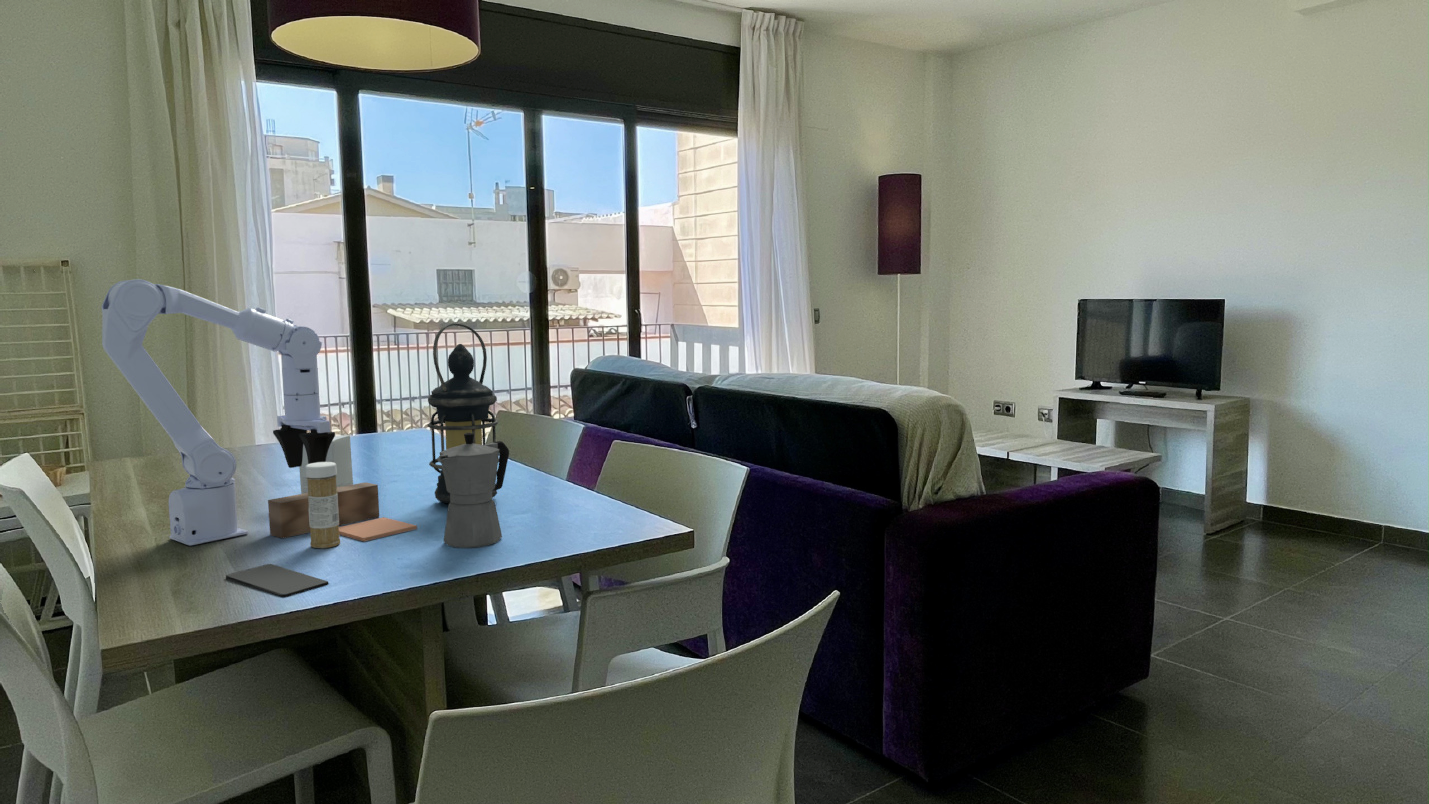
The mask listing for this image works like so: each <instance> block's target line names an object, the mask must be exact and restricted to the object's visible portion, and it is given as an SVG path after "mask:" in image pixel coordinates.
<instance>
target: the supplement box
mask: <svg viewBox="0 0 1429 804" xmlns="http://www.w3.org/2000/svg"><path fill="white" fill-rule="evenodd" d="M326 462H334V463H336V467H337V474H336V476H337V477H336V485H337V487H342V486H348V485H353V484H354V479H353V478H354V477H353V460H352V447H351V435H335V437H334V439H333V440H332V442H331V444H330V447H329V450H328V453H327V457H326ZM306 465H308V458H307V453H306V449H305V446H304V444H303V459H302V465H301V466H300V467H298V469H299V480H300V481H299V482H300V494H304V493H308V482H307V481H308V480H307V478H308V477H306V469H305V467H306Z"/></svg>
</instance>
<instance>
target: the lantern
mask: <svg viewBox="0 0 1429 804" xmlns="http://www.w3.org/2000/svg"><path fill="white" fill-rule="evenodd" d="M453 326H456V327H463V328H465V329H467V330H469V331H471V332H472V334H474V335H475V336H476V338H477V339H478V342H479V343H480V346H481V349H482V355H483V356H482V357H483V358H482V359H483V360H482V369H481V373H480V377H479V381H478V380H477V379H474V378H472V377H470V375H471V374H472V372H473V371H474V367H475V360H474V357H473V355H472V354H471V352H470V351H469V350H468V349H467V348H466V347H465V345H463V343H459V344H457V345H456V346H455V347H454V348H453V350H452V351H451V352H450V354H449V355H448V358H447V366H448V370H449V372H450V373H451V374H452V375H453V376H452V377H451V378H450V379H448V380H446V381H445V380H444V378H443V376H442V374H441V371H440V367H439V363H438V358H437V357H438V356H437V354H438V353H437V352H438V351H437V349H438V342H439V339H440V336H441V335H442V333H443V332H444V331H445V330H446V329H447V328H449V327H453ZM487 356H488V355H487V348H486V345H485V343H484V340H483V339H482V337H481V335H480V334H479V333H478V332H477V331H476V330H475V329H473V328H472V327H470V326H468V325H466V324H462V323H458V322H456V323H455V322H453V323H449V324H446V325H444V326H442V327H441V328H440V329H439V330H438V332H437V333H436V335H435V338H434V341H433V347H432V358H433V363H434V368H435V371H436V373H437V377H438V379H439V382H440V385H439V386H437V387H435V388H434V389H433V390H431V394H429V395H428V396H427V402H428V404H429V406H431V407H432V408H436V411H435V412H434V413H433V414H431V416H430V417H431V418H430V419H431V420H430V422H429V423H427V427H428V428H429V429H431V430H430V431H431V450H432V451H431V452H432V453H431V454H432V460H431V461H430V462H429V466H430V467H432V468H433V469H434V471H435V472H438V474H439V475H438V476H437V483H436V489H435V491H434V496H435V497H434V498H435V499H437V501H438V502H441V503H444V504H450V493H449V492H448V491H447V489H446V483H445V478H444V473H443V468H442V464H437V463H439V462H438V460H437V458H436V440H435V430H437V431H440V447H441V450H440V452H442V451H444V450H447V449H449V448H453V447H456V446H460V445H463V444H466V441H465V437H464V434H466V433H468V432H470V433H474V440H473V443H474V444H479V445H485V444H487V443H486V429H488V428H492V443H494V442H497V439H496V426H497V425H498V424H499V420H497V419H496V418H495V415H494V413H493V412H492V411H491V410H490V406H492V405H494V404H495V403H496V402H497V401H498V397H497V395H495V393H494V391H493V390H492V389H491V388H489V387H488V386H487V385H484V384H483V383H484V378H485V373H486V370H487V360H488V357H487ZM489 415H490V416H491V417H490V418H489ZM436 416H437V419H436V420H435V417H436ZM444 431H445V433H444ZM444 435H445V436H444ZM498 463H499V457H498ZM497 494H498V490H495V491H493V490H492V499H493V498H495V497H496V496H497Z"/></svg>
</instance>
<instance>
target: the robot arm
mask: <svg viewBox="0 0 1429 804" xmlns="http://www.w3.org/2000/svg"><path fill="white" fill-rule="evenodd" d="M100 308H101V313H102V315H101V317H102V321H101V323H102V324H101V325H102V329H101V331H102V332H101V337H102V339H101V344H102V348H103V351H104V352H105V353H106V354H107V356H108V357H109V358H110V360H111V362H113V364H114V365H115V366H116V368H117V369H118V371H120V373H121V375H123V377H124V379H126V381H127V382H128V383H129V385H130V386H131V387H132V389H133V390H134V391H135V393H136V394H137V395H138V396H139V399H141V401H142V403H144V405H145V406H146V408H147V409H148V411H150V413H151V414H152V415H153V417H154V418H155V420H156V421H157V422H158V423H159V424H160V426H161V427H162V428H163V431H165V432H166V434H167V436H168V437H169V438H170V439H171V441H172V443H173V445H174V447H175V448H176V450H177V451H178V452H179V454H180V457H181V463H182V468H183V469H184V471H185V473H187V474H188V475H189V476H188V477H187V479H186V481H185V482H184V483H185V484H184V487H182V488H179V489H175V490H172V491H171V492H170V493H169V497H168V517H169V525H170V526H169V527H170V529H169V530H170V535H169V536H168V537H169V539H171V540H173V541H176V542H178V543H182V544H184V545H187V546H195V545H196V546H197V545H199V544H205V543H210V542H215V541H219V540H223V539H228V538H229V539H230V538H234V537H238V536H244V535H247V534H249V530H247V529H243V528H240V527H238V525H239V524H238V512H237V511H238V510H237V497H236V483H235V477H233V476H234V475H235V473H236V470H237V461H236V458H235V456H234V455H233V453H232V452H231V451H230V450H228V449H226V448H224V447H222V446H220V445H219V444H218V443H217V442H216V441H215V439H214V438H213V437H212V436H211V435H210V433H208V432H207V430H206V429H204V428H203V426H202V425H201V424H200V422H199V420H198V419H197V418H196V417H195V415H194V414H193V413H192V411H191V409H190V408H189V407H188V406H187V405H186V403H185V401H184V400H183V399H182V398H181V396H180V395H179V394H178V392H177V390H176V389H175V388H174V387H173V385H172V384H171V383H170V381H169V380H168V379H167V377H166V375H164V373H163V372H162V370H161V369H160V367H159V366H158V365H157V363H156V362H155V361H154V359H153V358H152V357H151V355H150V354H149V353H148V351H147V350H146V349H145V347H144V346H143V342H144V340H145V337H146V333H147V331H148V328H149V326H150V324H151V323H153V321H154V320H155V318H157V316H158V315H171V314H173V315H174V314H183V315H185V316H188V317H192V318H196V319H199V320H202V321H205V322H208V323H212V324H215V325H218V326H222V327H224V328H227V329H230V330H231V331H232V333H233V334H234V337H235V338H236V339H237V340H239V341H242V342H245V343H247V344H250V345H253V346H256V347H260V348H262V349H265V350H268V351H272V352H278V353H279V354H280V355H281V364H282V371H281V372H282V374H281V375H282V386H283V387H282V389H283V404H284V405H283V406H284V407H283V408H284V414H283V415H276V416H277V427H279V429H274V430H272V434H273V436H275V438H276V439H277V442H278V443H279V445H280V446H281V450H282V453H283V455H284V459H285V460H286V464H287V467H288V468H289V469H292V468H299V467H300V466H301V465H302V459H303V444H304V446H305V449H306V453H307V458H308V464H311V463H317V462H326V457H327V453H328V450H329V447H330V444H331V442H332V440H333V439H334V437H335V436H336V432H335V431H331V421H330V420H327V416H325V415H321V406H320V405H321V403H320V386H319V385H320V383H319V371H318V370H319V368H318V359H317V357H318V355H319V353H320V352H321V349H322V343H323V342H322V341H320V338H319V336H318V334H317V333H316V331H315V330H314V329H312V328H309V327H308V326H300V325H299V326H298V325H297V324H294V322H295V321H294V320H292V319H290V318H286V319H285V320H284V319H282V318H279V317H276V316H274V315H271V314H268V313H266V311H267V310H266V309H265V308H262V307H259V306H257V307H255V309H254V308H252V307H247V308H245V309H243V310H241V311H238V310H234V309H233V308H229V307H227V306H224V305H222V304H219V303H217V302H214V301H212V300H209V299H207V298H204V297H202V296H199V295H196V294H194V293H190V292H188V291H186V290H183V289H180V288H176V287H174V286H169V285H166V284H165V285H164V284H159V283H152V282H150V281H149V280H144V279H140V278H138V279H137V278H135V279H130V280H129V279H128V280H127V279H126V280H120V281H118V282H116V283H115V284H112V286H110V288H109V289H108V290H107V293H106V295H105V297H104V299H103V301H102V304H101V307H100ZM308 431H310V432H308Z"/></svg>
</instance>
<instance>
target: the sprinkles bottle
mask: <svg viewBox="0 0 1429 804" xmlns="http://www.w3.org/2000/svg"><path fill="white" fill-rule="evenodd" d="M305 469H306V477H308V478H307V480H308V481H307V482H308V502H309V525H310V532H309V534H310V547H311V548H315V549H329V548H333V547H336V546H338V545H340V543H341V539H340V535H339V527H340V526H339V512H338V494H337V485H336V477H337V476H336V474H337V467H336V463H334V462H317V463H311V464H308V465H306V467H305Z"/></svg>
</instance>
